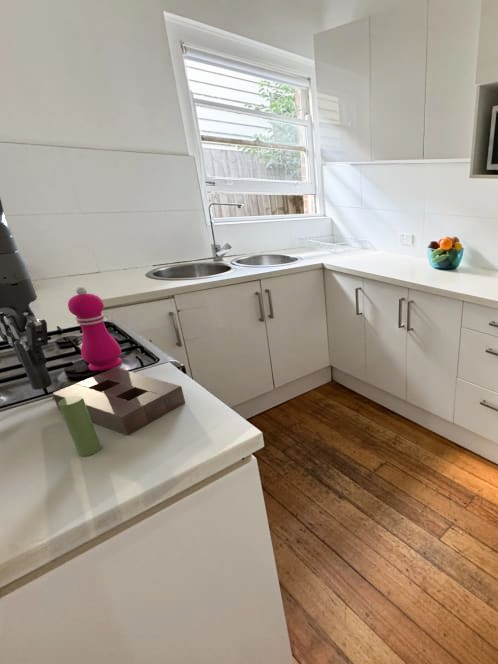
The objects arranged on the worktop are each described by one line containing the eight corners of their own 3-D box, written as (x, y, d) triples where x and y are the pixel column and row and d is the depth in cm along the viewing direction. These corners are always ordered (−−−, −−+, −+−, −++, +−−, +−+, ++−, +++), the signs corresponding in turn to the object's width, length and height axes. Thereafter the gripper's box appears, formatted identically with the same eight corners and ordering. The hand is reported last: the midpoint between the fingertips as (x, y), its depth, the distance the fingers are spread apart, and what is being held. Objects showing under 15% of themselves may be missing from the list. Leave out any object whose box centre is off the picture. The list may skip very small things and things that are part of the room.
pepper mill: (133, 364, 93) (109, 284, 85) (106, 378, 86) (78, 293, 78) (108, 360, 94) (82, 281, 86) (79, 374, 87) (48, 290, 79)
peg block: (127, 435, 68) (121, 417, 66) (58, 410, 74) (51, 393, 73) (185, 402, 78) (181, 385, 77) (120, 383, 84) (115, 367, 83)
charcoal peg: (28, 387, 76) (9, 341, 72) (46, 381, 79) (29, 336, 75) (38, 391, 75) (19, 344, 71) (55, 384, 78) (39, 339, 74)
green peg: (74, 453, 63) (53, 402, 59) (93, 443, 66) (74, 393, 62) (86, 458, 62) (65, 407, 58) (105, 447, 65) (86, 397, 61)
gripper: (-52, 276, 67) (-13, 364, 74) (-4, 287, 63) (33, 379, 69) (3, 268, 73) (34, 349, 80) (50, 278, 69) (78, 362, 76)
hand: (33, 363), depth 75 cm, fingers closed on charcoal peg, 3 cm apart
